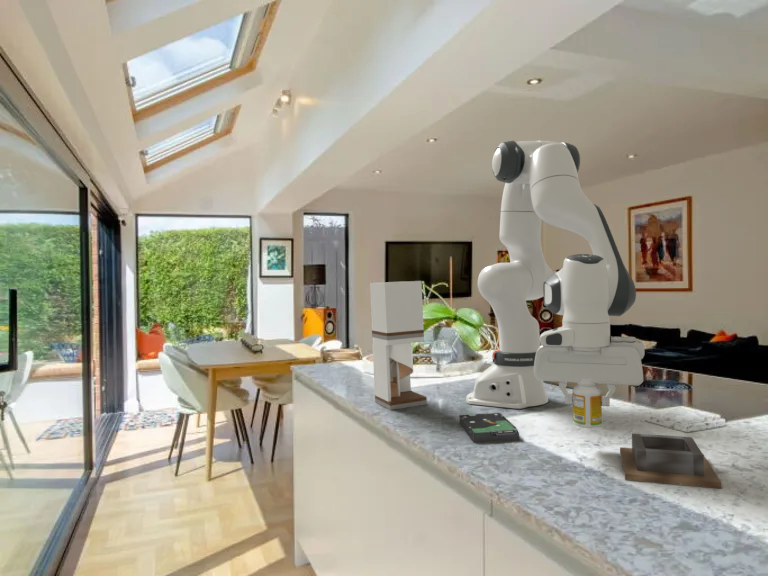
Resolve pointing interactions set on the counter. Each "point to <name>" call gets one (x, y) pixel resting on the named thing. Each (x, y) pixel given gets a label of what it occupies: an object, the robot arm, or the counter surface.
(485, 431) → the disk drive
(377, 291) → the white tower
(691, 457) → the socket board
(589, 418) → the supplement bottle
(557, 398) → the counter surface
